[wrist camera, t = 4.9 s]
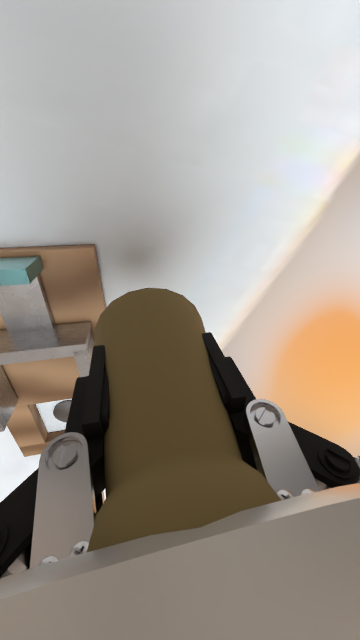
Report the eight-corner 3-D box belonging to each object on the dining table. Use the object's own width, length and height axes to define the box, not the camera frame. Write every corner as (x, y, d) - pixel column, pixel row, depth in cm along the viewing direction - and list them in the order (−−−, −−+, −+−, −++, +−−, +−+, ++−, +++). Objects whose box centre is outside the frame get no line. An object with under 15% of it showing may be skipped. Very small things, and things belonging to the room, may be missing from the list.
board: (-77, 251, 20) (-90, 256, 19) (94, 244, 23) (93, 248, 21) (28, 446, 34) (24, 456, 33) (126, 429, 37) (126, 437, 36)
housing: (-68, 260, 19) (-109, 277, 16) (76, 254, 21) (67, 267, 18) (6, 402, 28) (-10, 433, 24) (104, 388, 29) (102, 414, 26)
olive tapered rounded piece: (164, 388, 16) (226, 692, 6) (73, 356, 13) (-41, 808, 4) (223, 319, 14) (429, 615, 5) (131, 264, 11) (186, 736, 2)
